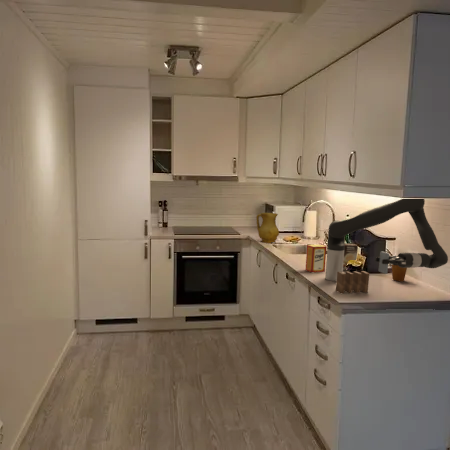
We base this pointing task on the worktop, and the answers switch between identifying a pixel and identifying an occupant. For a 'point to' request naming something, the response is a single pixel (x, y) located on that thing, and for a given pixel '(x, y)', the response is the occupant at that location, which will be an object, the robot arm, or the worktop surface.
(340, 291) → the domino
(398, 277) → the disposable coffee cup
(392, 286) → the worktop surface
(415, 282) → the worktop surface
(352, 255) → the coffee box
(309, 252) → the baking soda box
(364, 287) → the domino
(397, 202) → the robot arm
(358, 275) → the domino
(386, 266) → the domino
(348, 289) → the domino
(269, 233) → the pitcher
